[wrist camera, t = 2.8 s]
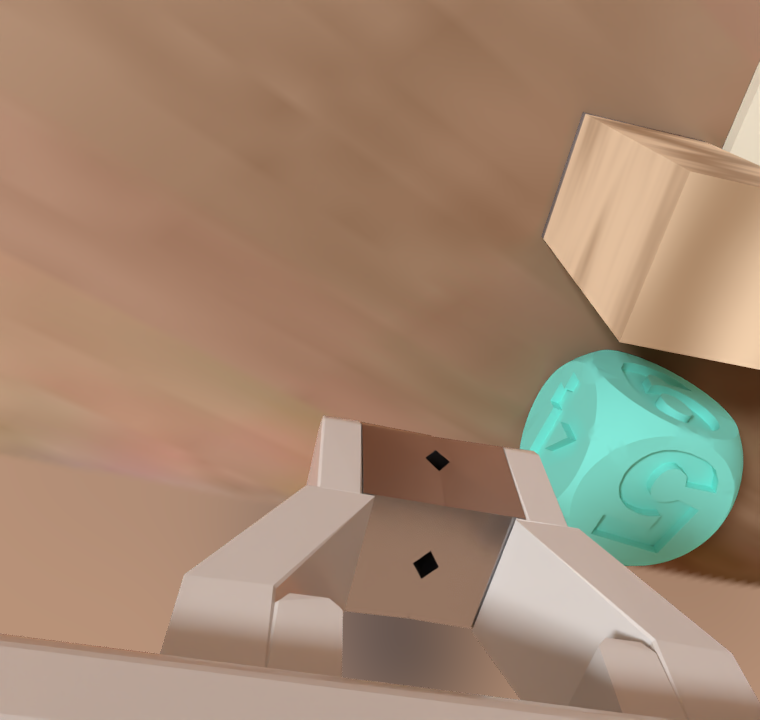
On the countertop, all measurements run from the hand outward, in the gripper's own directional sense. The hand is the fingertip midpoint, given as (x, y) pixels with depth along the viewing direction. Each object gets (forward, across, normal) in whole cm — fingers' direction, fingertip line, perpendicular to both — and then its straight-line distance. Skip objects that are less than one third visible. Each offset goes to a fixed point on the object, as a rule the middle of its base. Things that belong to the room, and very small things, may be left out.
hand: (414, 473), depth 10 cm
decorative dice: (+26, -16, +12) cm, 33 cm away
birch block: (+26, -12, 0) cm, 29 cm away
